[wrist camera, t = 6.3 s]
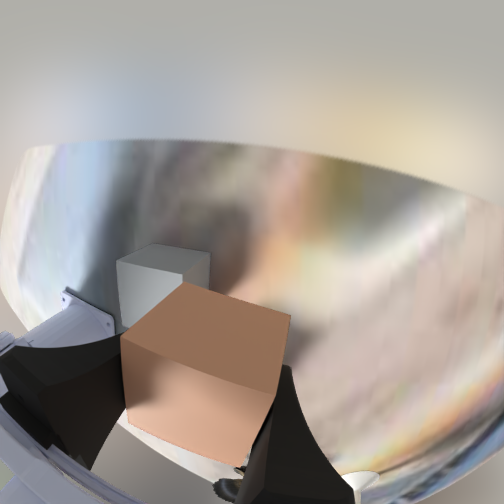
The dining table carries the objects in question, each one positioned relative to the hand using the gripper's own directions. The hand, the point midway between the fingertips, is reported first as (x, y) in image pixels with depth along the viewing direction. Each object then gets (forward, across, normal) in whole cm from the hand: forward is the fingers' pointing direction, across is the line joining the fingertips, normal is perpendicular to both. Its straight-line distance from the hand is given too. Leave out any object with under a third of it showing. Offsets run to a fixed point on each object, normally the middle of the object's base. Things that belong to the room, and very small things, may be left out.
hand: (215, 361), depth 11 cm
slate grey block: (+10, +6, +2) cm, 11 cm away
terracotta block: (+2, 0, 0) cm, 2 cm away
